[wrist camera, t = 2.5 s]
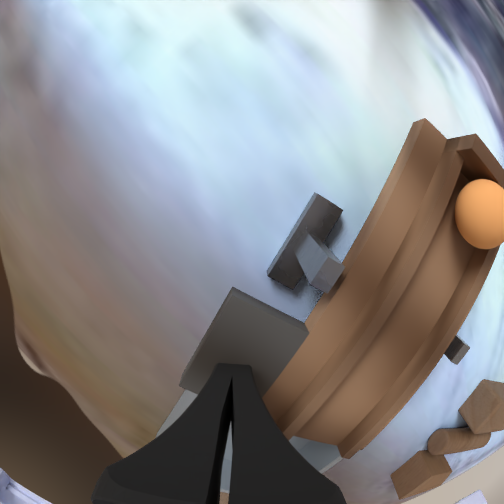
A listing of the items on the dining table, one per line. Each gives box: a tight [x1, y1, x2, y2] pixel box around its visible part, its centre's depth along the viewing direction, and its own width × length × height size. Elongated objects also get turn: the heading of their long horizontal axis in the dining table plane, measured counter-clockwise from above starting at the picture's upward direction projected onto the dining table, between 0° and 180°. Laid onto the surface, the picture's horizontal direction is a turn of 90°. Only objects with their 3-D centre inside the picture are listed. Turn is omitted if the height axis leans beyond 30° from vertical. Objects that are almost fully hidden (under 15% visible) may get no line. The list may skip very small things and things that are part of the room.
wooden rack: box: [179, 118, 504, 459], centre depth 10 cm, size 16×12×3 cm
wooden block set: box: [391, 379, 504, 500], centre depth 20 cm, size 17×6×18 cm
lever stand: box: [267, 193, 470, 365], centre depth 13 cm, size 5×11×6 cm, turn 60°
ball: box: [455, 179, 504, 249], centre depth 9 cm, size 3×3×3 cm
